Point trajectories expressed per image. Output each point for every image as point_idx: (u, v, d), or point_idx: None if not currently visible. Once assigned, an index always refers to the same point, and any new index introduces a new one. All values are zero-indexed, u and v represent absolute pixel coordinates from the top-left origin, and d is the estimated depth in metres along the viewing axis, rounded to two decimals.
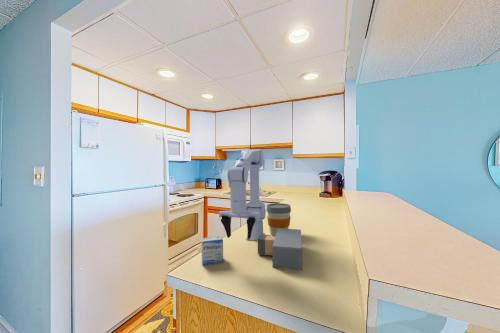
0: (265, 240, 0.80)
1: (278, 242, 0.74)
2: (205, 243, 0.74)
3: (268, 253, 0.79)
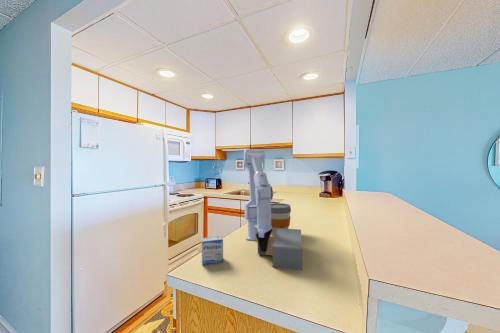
0: None
1: (278, 242, 0.74)
2: (205, 243, 0.74)
3: (268, 253, 0.79)
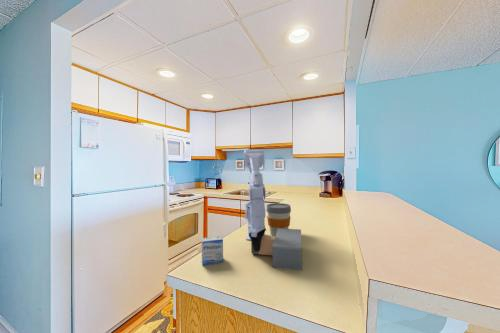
0: None
1: (278, 242, 0.74)
2: (205, 243, 0.74)
3: (261, 252, 0.80)
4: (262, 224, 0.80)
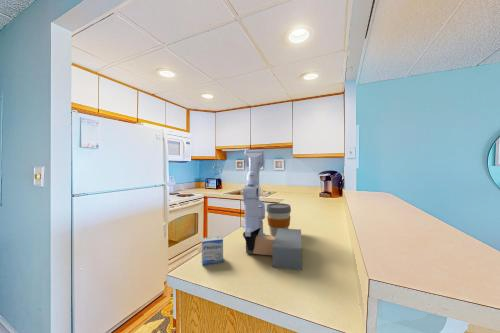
0: None
1: (278, 242, 0.74)
2: (205, 243, 0.74)
3: (256, 252, 0.81)
4: (256, 224, 0.81)
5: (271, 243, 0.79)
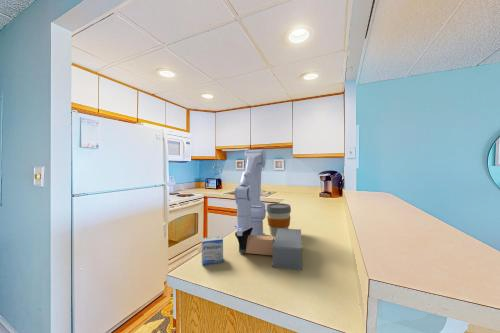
0: None
1: (278, 242, 0.74)
2: (205, 243, 0.74)
3: (249, 251, 0.81)
4: (248, 223, 0.82)
5: (263, 242, 0.80)
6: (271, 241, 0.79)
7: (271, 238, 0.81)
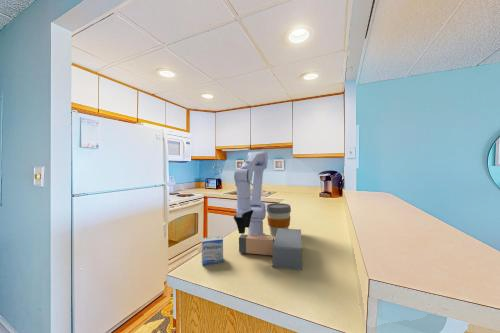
0: (246, 239, 0.82)
1: (278, 242, 0.74)
2: (205, 243, 0.74)
3: (249, 251, 0.81)
4: (248, 206, 0.82)
5: (263, 242, 0.80)
6: (271, 241, 0.79)
7: (271, 238, 0.81)
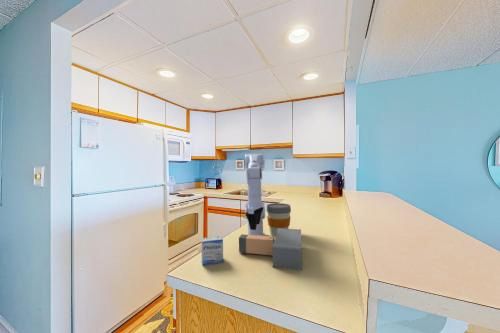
0: (246, 239, 0.82)
1: (278, 242, 0.74)
2: (205, 243, 0.74)
3: (249, 251, 0.81)
4: (259, 203, 0.83)
5: (263, 242, 0.80)
6: (271, 241, 0.79)
7: (271, 238, 0.81)
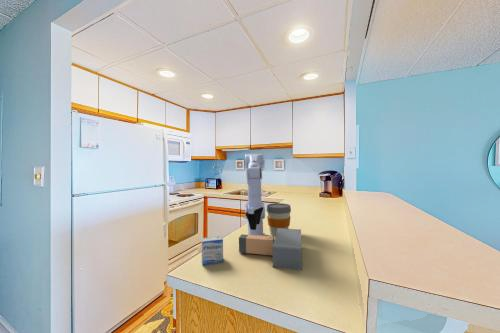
0: (246, 239, 0.82)
1: (278, 242, 0.74)
2: (205, 243, 0.74)
3: (249, 251, 0.81)
4: (259, 203, 0.83)
5: (263, 242, 0.80)
6: (271, 241, 0.79)
7: (271, 238, 0.81)
